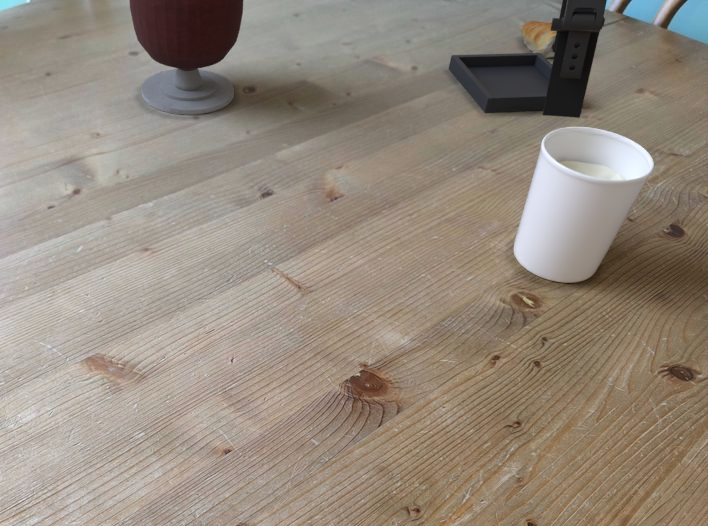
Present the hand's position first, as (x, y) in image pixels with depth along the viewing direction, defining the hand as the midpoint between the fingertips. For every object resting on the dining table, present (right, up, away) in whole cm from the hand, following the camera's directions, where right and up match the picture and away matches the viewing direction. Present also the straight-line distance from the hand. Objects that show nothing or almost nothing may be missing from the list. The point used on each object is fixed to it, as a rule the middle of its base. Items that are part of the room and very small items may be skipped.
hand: (565, 81), depth 63 cm
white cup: (+5, -13, +13) cm, 19 cm away
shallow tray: (+10, +14, +42) cm, 45 cm away
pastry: (+19, +24, +53) cm, 61 cm away
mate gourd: (-34, +11, +36) cm, 51 cm away
